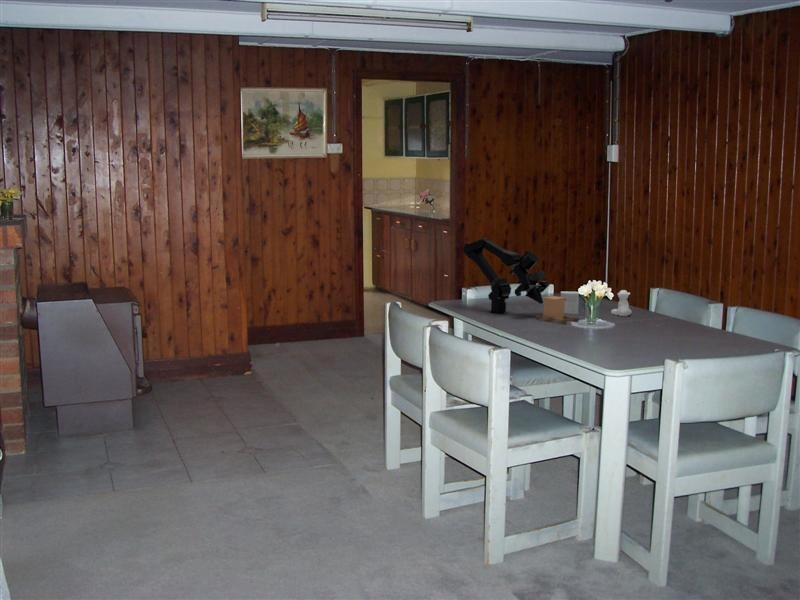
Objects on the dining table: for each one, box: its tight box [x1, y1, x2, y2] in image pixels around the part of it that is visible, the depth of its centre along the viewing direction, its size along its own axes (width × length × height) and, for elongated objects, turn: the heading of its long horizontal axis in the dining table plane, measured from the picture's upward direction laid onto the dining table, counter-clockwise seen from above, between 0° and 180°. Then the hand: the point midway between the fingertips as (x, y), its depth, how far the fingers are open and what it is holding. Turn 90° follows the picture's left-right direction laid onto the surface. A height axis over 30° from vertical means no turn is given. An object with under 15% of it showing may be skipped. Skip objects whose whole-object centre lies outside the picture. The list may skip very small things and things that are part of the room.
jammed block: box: [542, 295, 565, 320], centre depth 385 cm, size 6×7×10 cm
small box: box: [559, 290, 580, 315], centre depth 404 cm, size 8×6×10 cm
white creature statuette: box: [610, 289, 632, 317], centre depth 404 cm, size 10×9×12 cm
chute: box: [535, 314, 580, 326], centre depth 383 cm, size 18×10×3 cm, turn 43°
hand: (542, 303), depth 389 cm, fingers closed
